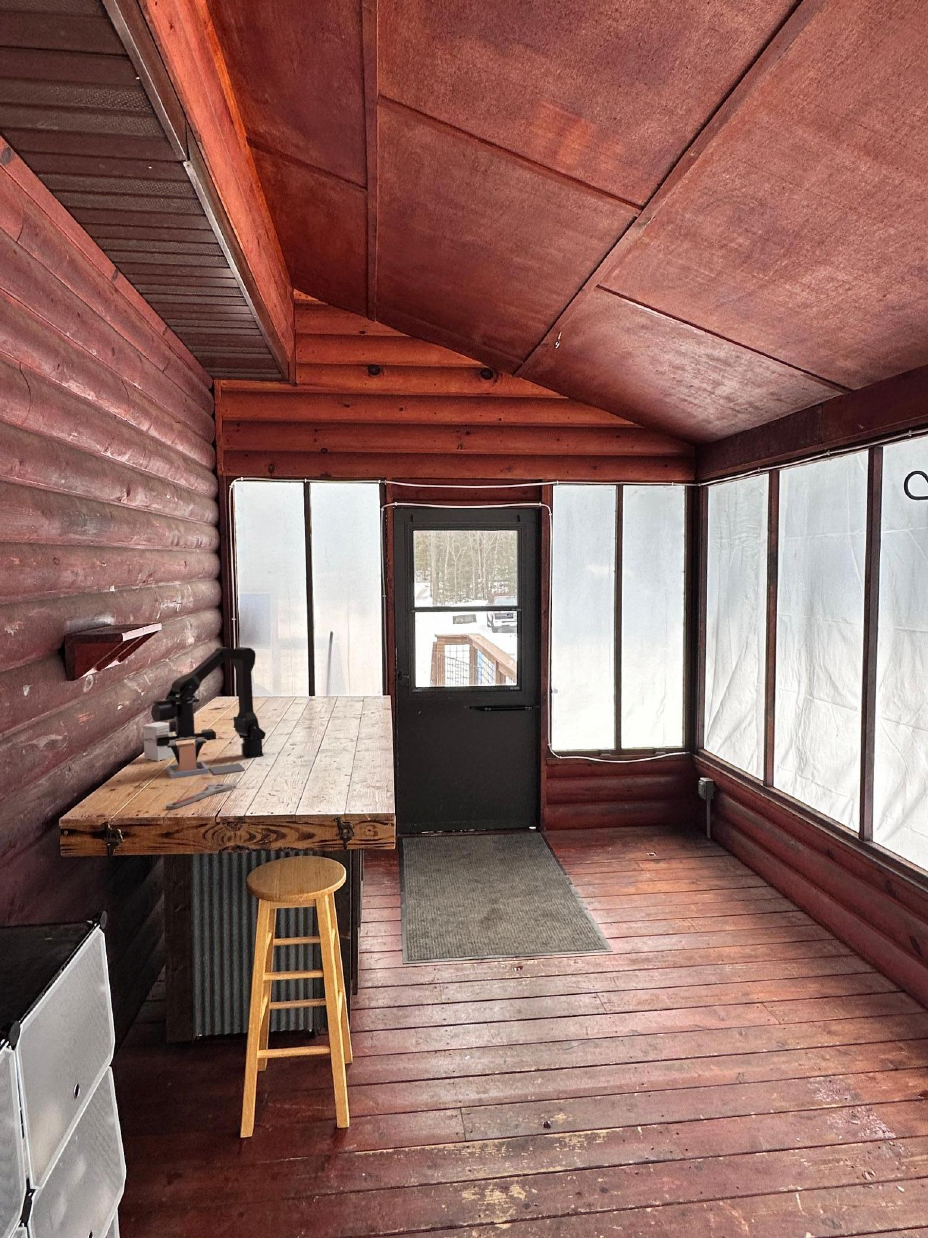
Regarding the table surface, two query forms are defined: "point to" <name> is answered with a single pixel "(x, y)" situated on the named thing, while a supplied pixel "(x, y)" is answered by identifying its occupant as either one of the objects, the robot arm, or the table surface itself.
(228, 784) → the adjustable wrench
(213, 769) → the place mat
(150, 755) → the supplement box
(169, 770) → the blue-grey square frame
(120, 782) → the table surface
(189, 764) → the block
